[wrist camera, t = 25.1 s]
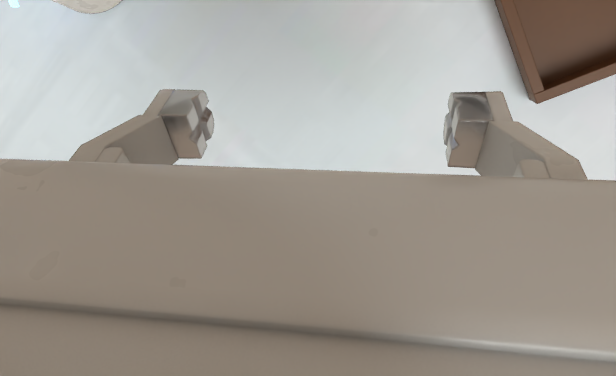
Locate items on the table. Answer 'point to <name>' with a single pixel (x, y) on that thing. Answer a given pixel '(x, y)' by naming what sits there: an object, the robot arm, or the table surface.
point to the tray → (560, 43)
